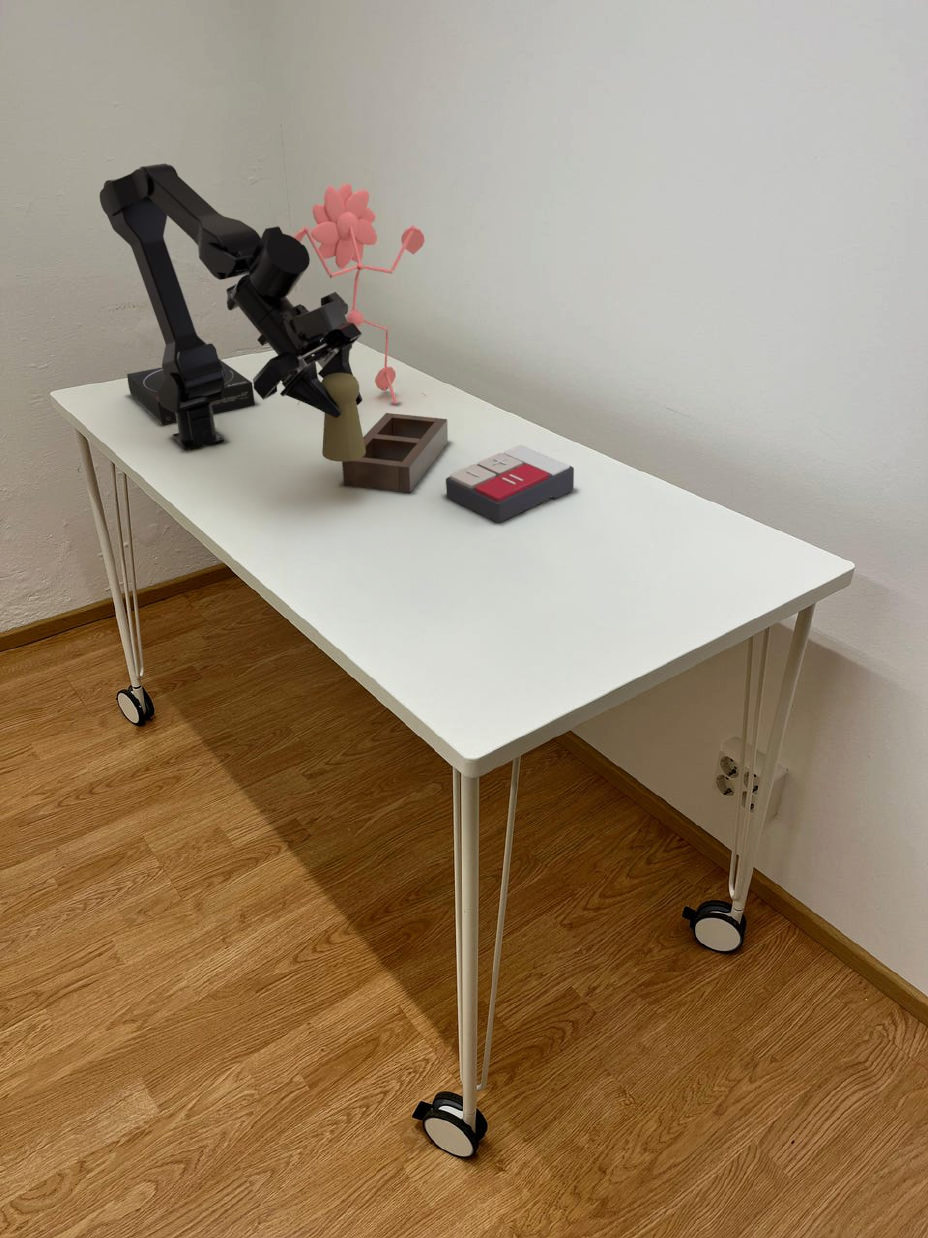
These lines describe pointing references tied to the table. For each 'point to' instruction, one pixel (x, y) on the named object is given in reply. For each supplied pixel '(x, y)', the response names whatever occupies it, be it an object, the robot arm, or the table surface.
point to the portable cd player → (145, 394)
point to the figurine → (354, 247)
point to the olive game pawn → (343, 420)
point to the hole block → (397, 452)
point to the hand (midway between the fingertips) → (349, 409)
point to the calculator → (510, 483)
